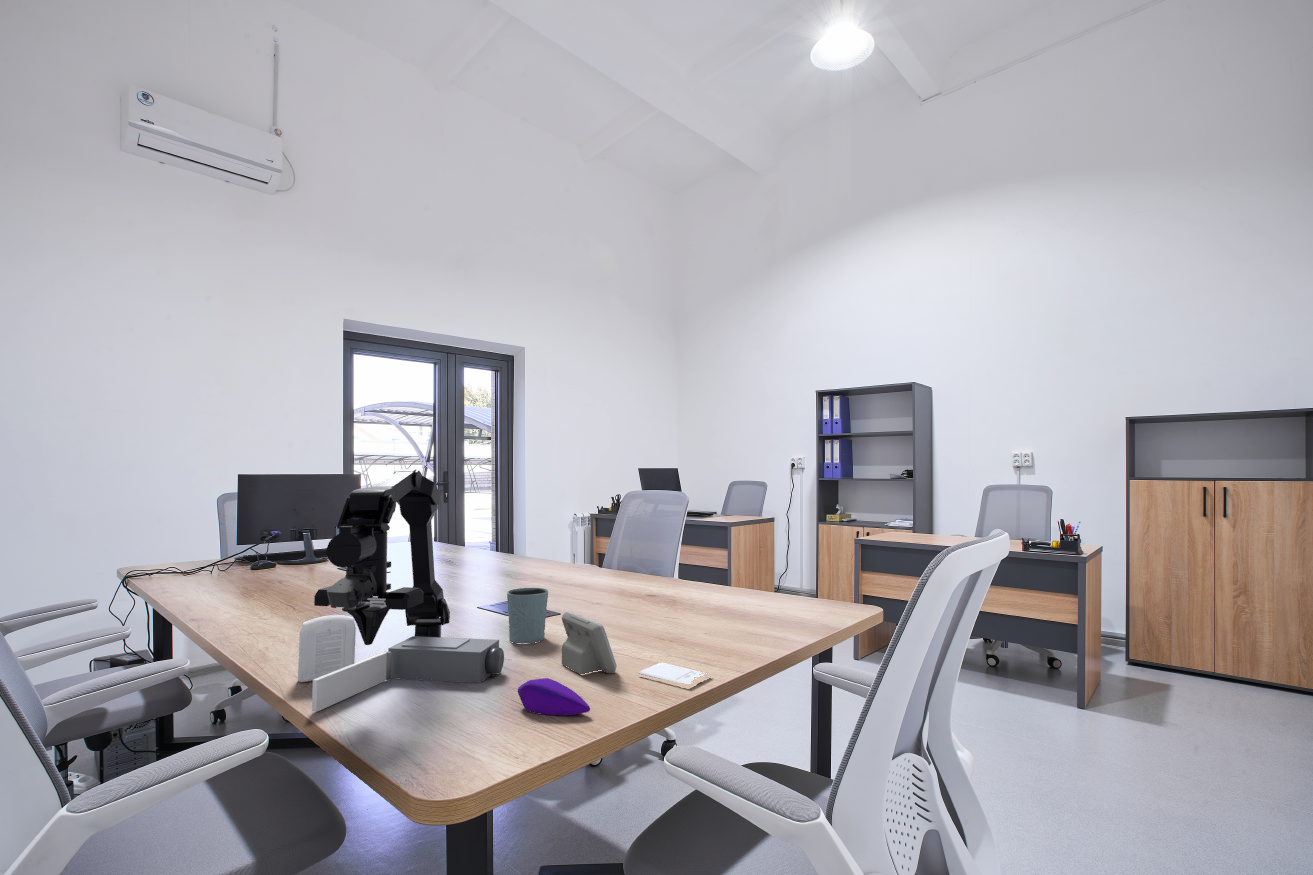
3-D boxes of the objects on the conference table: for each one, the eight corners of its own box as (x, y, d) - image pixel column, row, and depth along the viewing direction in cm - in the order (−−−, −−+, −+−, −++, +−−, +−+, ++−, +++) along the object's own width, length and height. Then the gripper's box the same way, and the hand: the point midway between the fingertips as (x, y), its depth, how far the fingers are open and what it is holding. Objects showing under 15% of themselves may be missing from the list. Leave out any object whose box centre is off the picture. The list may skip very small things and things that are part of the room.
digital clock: (619, 675, 124) (619, 623, 124) (577, 682, 120) (577, 628, 120) (594, 653, 138) (594, 606, 139) (555, 658, 134) (556, 610, 135)
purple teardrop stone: (584, 700, 100) (510, 679, 106) (581, 729, 100) (508, 706, 106) (598, 690, 105) (526, 670, 111) (595, 718, 105) (524, 697, 111)
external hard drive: (662, 669, 129) (711, 680, 121) (638, 679, 123) (688, 692, 115) (662, 661, 129) (711, 672, 122) (638, 671, 123) (688, 684, 115)
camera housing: (412, 663, 131) (412, 634, 131) (507, 668, 128) (508, 638, 128) (387, 677, 122) (388, 646, 123) (489, 683, 119) (490, 651, 119)
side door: (391, 678, 121) (392, 651, 121) (318, 712, 104) (319, 680, 105) (383, 677, 122) (383, 650, 122) (309, 710, 105) (310, 679, 105)
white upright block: (353, 669, 128) (354, 610, 129) (355, 674, 124) (357, 614, 125) (297, 678, 122) (298, 617, 123) (298, 684, 119) (300, 621, 119)
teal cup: (499, 644, 146) (500, 594, 147) (516, 632, 156) (516, 586, 157) (539, 645, 144) (539, 595, 145) (553, 634, 154) (553, 587, 155)
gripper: (291, 564, 104) (289, 655, 103) (388, 567, 100) (386, 661, 99) (336, 554, 114) (335, 636, 114) (425, 556, 111) (424, 642, 110)
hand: (368, 644), depth 109 cm, fingers closed
